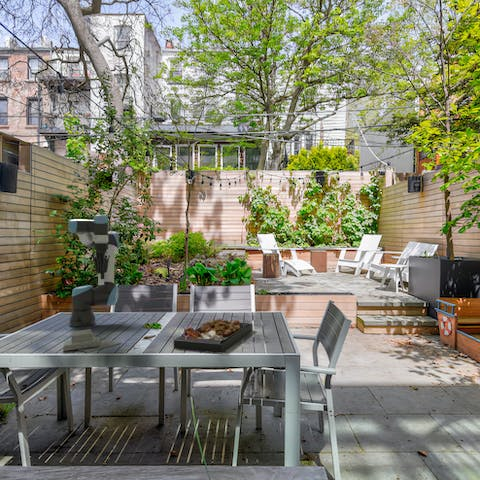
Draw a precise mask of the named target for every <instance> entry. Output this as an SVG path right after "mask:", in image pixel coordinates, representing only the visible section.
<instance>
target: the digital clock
mask: <svg viewBox="0 0 480 480" xmlns="http://www.w3.org/2000/svg"><path fill="white" fill-rule="evenodd" d="M92 334H93V333H92V329H91V328H90V329H82V330H74V331H71V339H69V340H65V341H64V343H63V345H62V349H63V350H64V351H66V352H67V351H73V350H75V351H76V349H82V348H89V347H96V346H99V345H100V342H101V341H100V337H98V336H93V335H92ZM92 336H93V337H92Z"/></svg>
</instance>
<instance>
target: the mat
mask: <svg viewBox="0 0 480 480" xmlns="http://www.w3.org/2000/svg"><path fill="white" fill-rule="evenodd" d="M117 344H118V345H120V344H122V343H121V342H118V341H114V340H111V339H107V340H102V341H100V345H99V346H96V347H89V348H82V349H77V350H76V351H80V352H83V351H84V353H91V351H92V352H95V350H96V351H99V350H102V348H103V349H106V347H107V348H109V347H113V346H117ZM98 349H99V350H98Z"/></svg>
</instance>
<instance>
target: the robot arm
mask: <svg viewBox="0 0 480 480" xmlns="http://www.w3.org/2000/svg"><path fill="white" fill-rule="evenodd" d="M110 227H111V225H110V223H109V216H108V215H105V214H103V215H101V214H96V215H94V217H93V219H69V220H68V223H67V229H68V232H69V233H71V234H72V233H73V234H76V235H77V236H78V240H79V242H80V243H81V244H82V245H84V246H85V247H87V248H90V249H93V250H94V251H95V254H93V255H92V259H93V264H94V271H95V272H96V273H97V284H96V287H93V286H94V285H92V284H89V285H82V286H77V287H75V288H73V289H72V292H71V315H70V317H69V321H68V326H69V327H87V326H92V325H95V324H96V323H97V321H96V320H97V319H96V317H95V314H94V311H93V308H94V307H110V306H115V305H116V304H117V302H118V298H119V287H118V286H117V284H116V283H115V264H116V263H115V260H116V259H115V257H116V253H117V252H118V249H120V248H121V245H120V237H119V232H117V231H112V230H111V231H110V229H111V228H110Z"/></svg>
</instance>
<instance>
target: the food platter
mask: <svg viewBox="0 0 480 480" xmlns="http://www.w3.org/2000/svg"><path fill="white" fill-rule="evenodd" d="M182 327H183V330H184V331H183V334H182V335H181V336H178V338H175V339H174V340H173V349H177V348H178V349H179V350H186V351H187V350H189V351H196V350H198V351H199V352H206V351H208V353H216V352H223V353H224V352H226V351H227V350H228V349H230V348H231V347H233V346H234V345H235V344H236V343H238V342H239V341H241V340H242V339H243V338H245V337H246V336H247V335H249V334H250V333H252V331H254V329H253V328H254V326H253V323H248V322H241V321H240V320H239V319H236V320H235V321H228V320H227V319H224V320H222V318H218V319H213V320H211V321H206V322H203V323H202V326H201V325H200V326H199V327H197V328H195V329H194V328H193V327H192V326H189V327H188V328H185V326H184V325H182ZM225 350H226V351H225Z"/></svg>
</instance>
